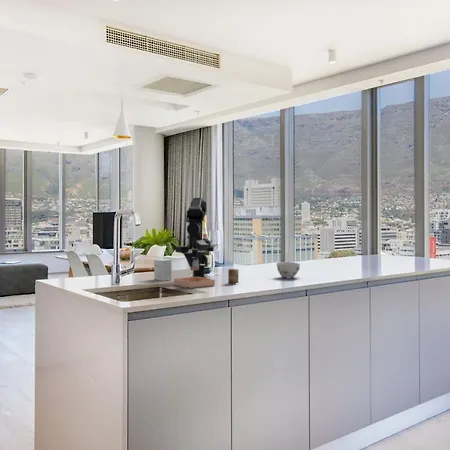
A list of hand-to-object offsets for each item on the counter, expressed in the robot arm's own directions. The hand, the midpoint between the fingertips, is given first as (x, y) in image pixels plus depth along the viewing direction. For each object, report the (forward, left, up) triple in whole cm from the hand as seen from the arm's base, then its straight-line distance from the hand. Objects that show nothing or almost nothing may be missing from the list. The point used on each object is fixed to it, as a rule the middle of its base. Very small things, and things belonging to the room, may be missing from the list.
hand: (194, 266), depth 248 cm
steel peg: (0, 0, -2) cm, 2 cm away
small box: (-26, -2, -9) cm, 28 cm away
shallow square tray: (0, 0, -9) cm, 9 cm away
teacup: (+4, +60, -9) cm, 61 cm away
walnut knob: (+5, +20, -9) cm, 22 cm away
